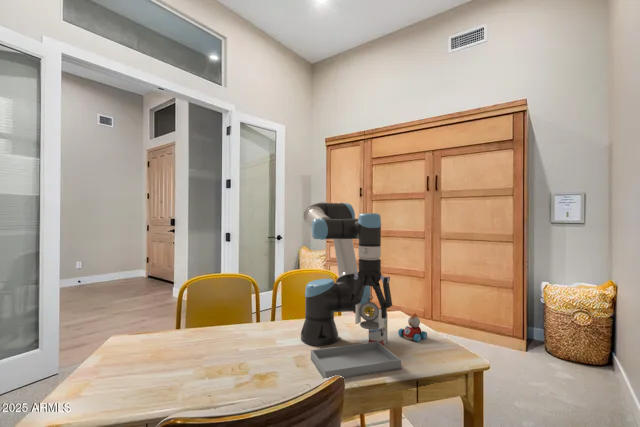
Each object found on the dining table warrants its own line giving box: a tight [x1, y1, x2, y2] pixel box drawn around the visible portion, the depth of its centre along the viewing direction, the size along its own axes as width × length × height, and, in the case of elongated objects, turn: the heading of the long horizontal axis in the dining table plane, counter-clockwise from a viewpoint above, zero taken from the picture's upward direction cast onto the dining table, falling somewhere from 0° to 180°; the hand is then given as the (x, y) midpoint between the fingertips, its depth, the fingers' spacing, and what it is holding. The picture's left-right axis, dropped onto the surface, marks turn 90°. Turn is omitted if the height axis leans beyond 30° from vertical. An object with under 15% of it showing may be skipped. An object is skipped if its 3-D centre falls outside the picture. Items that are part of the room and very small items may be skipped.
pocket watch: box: [359, 294, 379, 330], centre depth 110 cm, size 8×8×10 cm
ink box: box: [368, 312, 388, 346], centre depth 125 cm, size 9×5×12 cm, turn 148°
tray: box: [310, 341, 402, 379], centre depth 108 cm, size 26×16×3 cm, turn 108°
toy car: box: [397, 312, 428, 343], centre depth 132 cm, size 9×9×10 cm
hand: (369, 324), depth 110 cm, fingers closed on pocket watch, 8 cm apart
